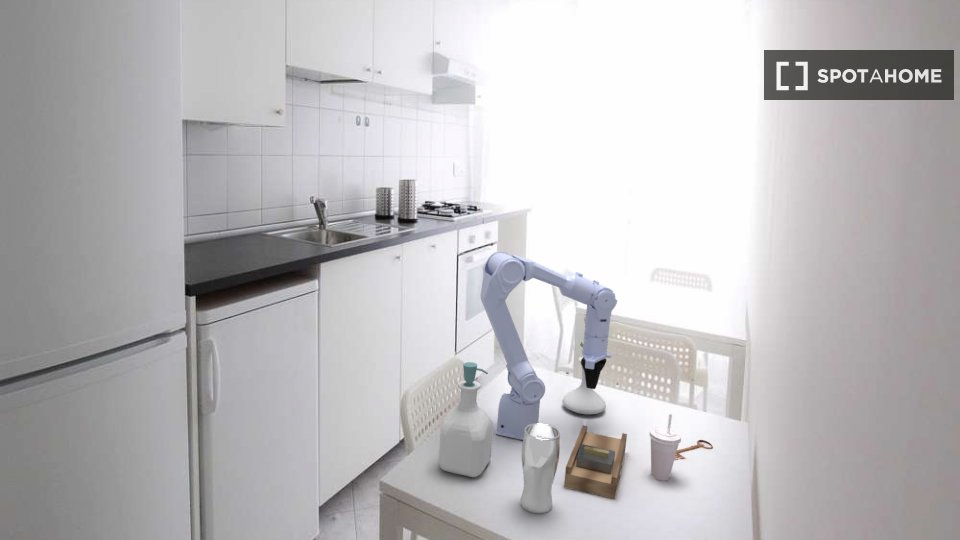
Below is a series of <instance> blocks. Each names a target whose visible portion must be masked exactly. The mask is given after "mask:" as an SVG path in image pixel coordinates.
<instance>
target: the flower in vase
mask: <svg viewBox="0 0 960 540" xmlns="http://www.w3.org/2000/svg"><path fill="white" fill-rule="evenodd" d="M583 321H584V322H585V321H586V315H584V317H583ZM583 343H584V342H583V341H581V342H580V344H579V346H580V347H581V348H583ZM582 358H583V356H580V357H578V362H579V363H580V366H581V374H582V375H581V382H580V385H579V386H578V387H576V388H575V389H573V390H571V391H569V392H568V393H566V394H565V395H564V396H563V398H562V403H563V406H564V407H565V408H566V409H568V410H569V411H571V412H574V413H577V414H580V415H581V414H582V415H597V414H601V413H602V412H604V410H605V409H606V407H607V405H606V401H604V399H603V398H602V397H601V396H600V394H598V393H597V392H596V391H595V389H590V388H587V386H586V379H585V373H584V369H583V367H582V365H581V360H582Z"/></svg>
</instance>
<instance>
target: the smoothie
mask: <svg viewBox="0 0 960 540" xmlns="http://www.w3.org/2000/svg"><path fill="white" fill-rule="evenodd" d="M672 419H673V414H672V413H669V414H668V422H667V426H654V427H652V428H650V430H649V432H648V435H649V438H650V474H651V476H652V477H653V478H654V479H656V480H657V481H658V480H659V481H668V480H670V477H671V474H672V470H673V466H674V463H675V461H674V459H675V455H676V452H677V450H678V448H679V444H680V443H681V442H682V434H681V433H680V432H678V431H677V430H676V429H673V428H671V425H672Z"/></svg>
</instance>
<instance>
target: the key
mask: <svg viewBox="0 0 960 540" xmlns="http://www.w3.org/2000/svg"><path fill="white" fill-rule="evenodd" d="M696 443H697V444H696V445H695V444H694V445H690V446H689V447H685V448H681V449H677V452H676V455H675V459H674V462H675V461H678V460H686V459H687V458H686V457H685V456H683V455H682V454H681V453H685V452H689V451H693V450H697V449H700V448H703V449H705V450H713V449H714V447H713V445H712V443H710V442H709V441H707V440H703V439H697V441H696ZM703 443H704V444H703ZM705 444H707V445H709V446H710V447H708V446H705Z"/></svg>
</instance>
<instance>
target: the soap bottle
mask: <svg viewBox="0 0 960 540" xmlns="http://www.w3.org/2000/svg"><path fill="white" fill-rule="evenodd" d="M462 365H463V366H462V367H463V378H464V380H461V381H459V382H457V387H458V388H459V390H460V401H459V403H458V404H457V405H456V406H455V407H453V408H452V409H451V410H450V411H448V413H447V415H446V416H445V418H444V419H443V420H442V424H441V425H440V428H439V429H440V430H439V431H440V433H439V455H438V463H439V468H441V470H443V471H444V472H448V473H451V474H452V473H453V474H457V475H461V476H465V477H469V478H470V477H471V478H477V477H478V476H480V475H481V474H482V473H483V472H484V470H485V469H486V467H487V465H488V463H490V460H491V458H492V453H493V452H492V449H493V436H494V435H493V434H494V425H493V421H492V419H491V417H490V416H489V414H488V413H487V412H486V411H485V410H483V409H482V408H481V407H480V406H479V405H478V402H477V400H478V399H477V397H478V394H477V393H478V390H480V389H481V383H480V382H478V381H476V380H475V379H476V375H477V371H479V372H482V373H484V374H485V375H488V374H489V372H488V371H486V370H484V369H483V368H478V363H476V362H471V361H467V362H464V363H463V364H462Z"/></svg>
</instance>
